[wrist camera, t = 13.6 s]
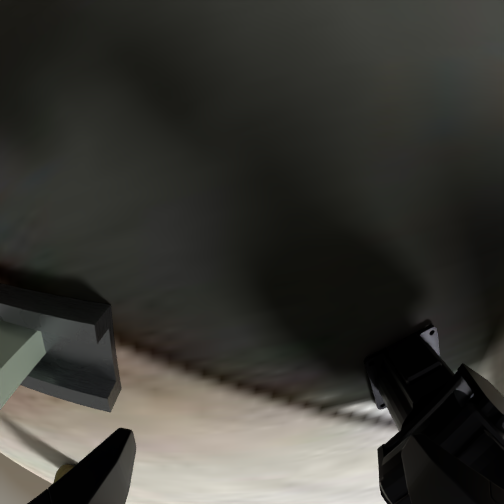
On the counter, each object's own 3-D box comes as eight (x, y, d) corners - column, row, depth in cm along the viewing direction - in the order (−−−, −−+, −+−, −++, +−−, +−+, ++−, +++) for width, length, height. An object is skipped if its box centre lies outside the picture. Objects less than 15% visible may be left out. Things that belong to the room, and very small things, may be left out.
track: (110, 304, 21) (94, 325, 18) (121, 388, 23) (110, 412, 20) (-42, 272, 20) (-62, 284, 17) (-24, 344, 22) (-40, 358, 19)
